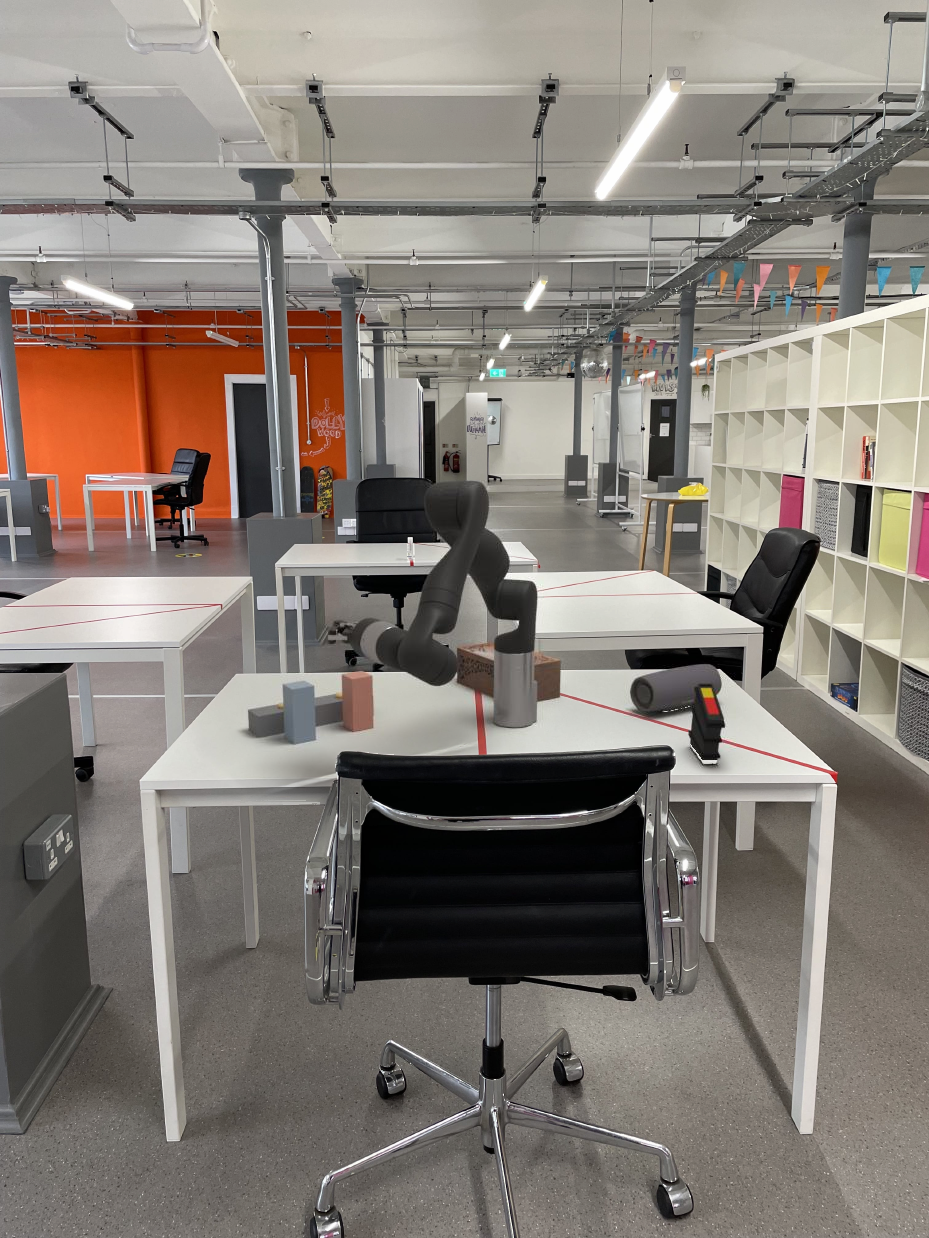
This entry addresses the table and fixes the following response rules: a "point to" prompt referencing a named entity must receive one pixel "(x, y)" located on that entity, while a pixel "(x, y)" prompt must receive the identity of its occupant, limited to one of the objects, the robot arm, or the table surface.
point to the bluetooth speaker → (672, 687)
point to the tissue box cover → (480, 671)
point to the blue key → (299, 712)
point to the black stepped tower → (706, 722)
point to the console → (272, 717)
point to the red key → (357, 701)
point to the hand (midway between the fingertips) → (336, 625)
